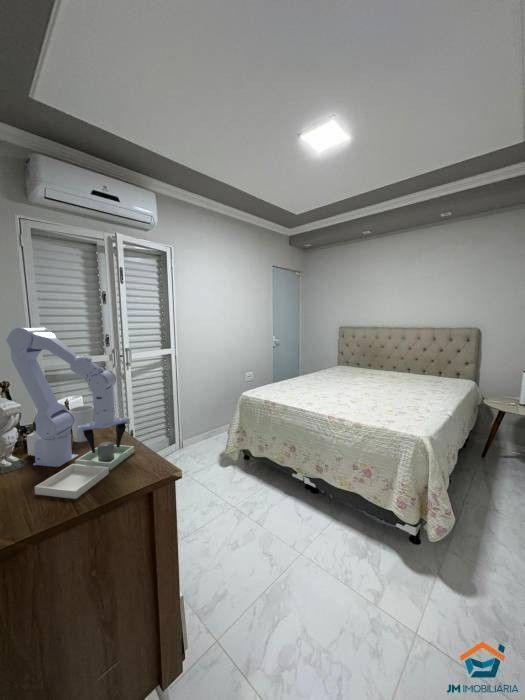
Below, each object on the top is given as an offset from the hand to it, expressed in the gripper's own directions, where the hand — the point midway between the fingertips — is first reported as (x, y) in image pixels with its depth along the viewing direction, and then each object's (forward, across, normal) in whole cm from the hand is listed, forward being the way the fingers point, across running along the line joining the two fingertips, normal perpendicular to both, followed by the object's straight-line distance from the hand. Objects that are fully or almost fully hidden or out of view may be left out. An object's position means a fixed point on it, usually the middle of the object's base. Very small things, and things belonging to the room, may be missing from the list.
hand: (106, 449), depth 91 cm
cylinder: (+3, 0, 0) cm, 3 cm away
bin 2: (+4, 0, 0) cm, 4 cm away
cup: (+4, -5, +25) cm, 26 cm away
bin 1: (+4, -9, -11) cm, 15 cm away
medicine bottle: (+4, -16, +19) cm, 25 cm away
